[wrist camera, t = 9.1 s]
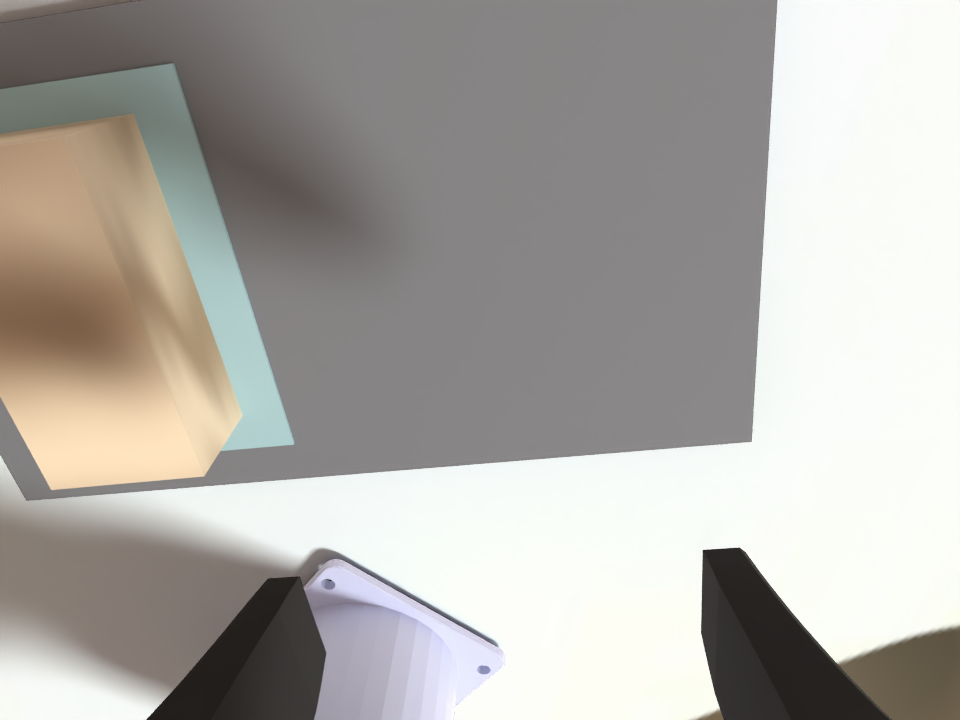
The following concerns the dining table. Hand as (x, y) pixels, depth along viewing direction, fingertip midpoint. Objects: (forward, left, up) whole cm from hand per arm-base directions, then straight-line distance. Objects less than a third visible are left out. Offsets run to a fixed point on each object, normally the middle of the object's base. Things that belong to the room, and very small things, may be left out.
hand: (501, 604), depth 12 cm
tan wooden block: (-5, +10, -9) cm, 14 cm away
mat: (-1, +6, -9) cm, 11 cm away
